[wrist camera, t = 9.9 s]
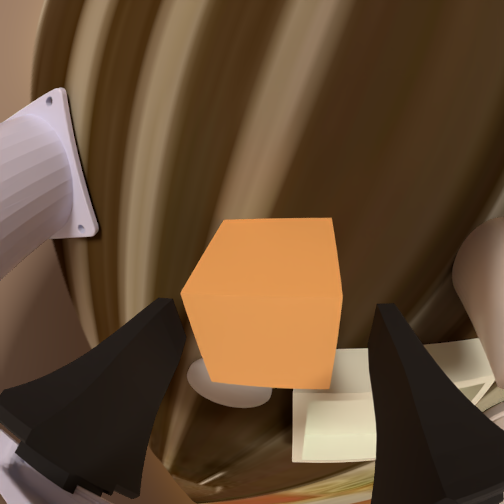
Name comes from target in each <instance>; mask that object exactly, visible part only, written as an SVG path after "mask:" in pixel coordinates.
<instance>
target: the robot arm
mask: <svg viewBox="0 0 504 504" xmlns="http://www.w3.org/2000/svg"><path fill="white" fill-rule="evenodd" d="M83 227H84V228H85V229H84V228H83ZM98 230H99V227H98V223H97V220H96V217H95V214H94V211H93V208H92V204H91V201H90V198H89V194H88V191H87V187H86V184H85V180H84V176H83V172H82V168H81V164H80V160H79V156H78V152H77V148H76V143H75V138H74V133H73V128H72V123H71V118H70V112H69V106H68V100H67V94H66V91H65V89H64V88H56V89H54V90H52V91H50V92H48V93H47V94H45V95H43V96H42V97H40V98H38V99H37V100H35V101H33V102H32V103H30V104H29V105H27V106H26V107H24V108H23V109H21V110H20V111H18V112H17V113H15V114H14V115H12V116H11V117H9V118H8V119H7V120H5V121H4V122H2V123H0V280H1V279H3V278H4V277H5V276H6V275H7V274H8V273H9V272H10V271H11V270H12V269H13V268H14V267H16V266H17V265H18V264H19V263H20V262H21V261H22V260H23V259H25V258H26V257H27V256H28V255H29V254H30V253H31V252H33V251H34V250H35V249H36V248H37V247H39V246H40V245H41V244H42V243H43V242H45V241H46V240H47V239H59V238H77V237H92V236H94V235H95V234H96V233H97V232H98ZM185 340H186V335H185V332H184V329H183V327H182V324H181V321H180V318H179V316H178V313H177V310H176V307H175V304H174V301H173V299H168V298H158V299H156V300H155V301H154V302H152V303H151V304H150V305H148V306H147V307H146V308H145V309H143V310H142V311H141V312H140V313H138V314H137V315H136V316H135V317H133V318H132V319H131V320H130V321H128V322H127V323H126V324H125V325H123V326H122V327H121V328H120V329H119V330H117V331H116V332H115V333H113V334H112V335H111V336H109V337H108V338H107V339H105V340H104V341H103V342H101V343H100V344H99V345H97V346H96V347H95V348H93V349H92V350H90V351H89V352H87V353H86V354H84V355H83V356H81V357H80V358H78V359H76V360H75V361H73V362H71V363H69V364H68V365H66V366H64V367H62V368H60V369H58V370H56V371H54V372H52V373H50V374H48V375H46V376H43V377H41V378H39V379H36V380H34V381H31V382H28V383H26V384H22V385H19V386H16V387H12V388H9V389H5V390H4V391H3V392H2V393H1V395H0V423H1V424H2V425H4V426H5V427H6V428H7V429H8V430H9V431H11V432H12V433H13V434H14V435H15V436H16V437H18V438H19V439H20V440H21V442H20V444H19V443H18V442H17V441H15V440H14V439H13V438H12V437H11V436H9V435H8V434H7V433H6V432H4V431H3V430H2V429H0V494H1V495H2V496H3V498H4V499H5V501H6V502H7V504H113V503H111V502H109V501H107V500H105V499H103V498H101V495H102V492H104V493H106V494H108V495H112V494H113V491H115V492H117V493H119V494H122V495H124V496H126V497H129V498H131V499H134V498H137V497H139V496H140V487H141V478H142V471H143V466H144V460H145V455H146V450H147V446H148V442H149V438H150V434H151V431H152V427H153V424H154V420H155V417H156V414H157V411H158V409H159V406H160V404H161V401H162V399H163V397H164V395H165V392H166V390H167V388H168V386H169V383H170V381H171V379H172V377H173V374H174V372H175V370H176V368H177V365H178V363H179V361H180V358H181V354H182V351H183V347H184V344H185ZM368 362H369V375H370V382H371V389H372V396H373V404H374V412H375V421H376V461H375V474H374V484H373V492H372V499H371V504H499V503H501V502H503V500H504V494H503V492H504V430H503V429H501V428H500V427H499V426H498V425H496V424H495V423H494V422H493V421H491V420H490V419H489V418H488V417H487V416H486V415H485V414H484V413H482V412H481V411H480V410H479V409H478V408H477V407H476V406H475V405H474V404H473V403H472V402H471V401H470V400H469V399H468V398H467V397H466V396H465V395H464V394H463V393H462V392H461V391H460V390H459V389H458V388H457V387H456V385H455V384H454V383H453V382H452V381H451V380H450V379H449V378H448V376H447V375H446V374H445V373H444V371H443V370H442V369H441V368H440V366H439V365H438V364H437V363H436V361H435V360H434V359H433V357H432V356H431V355H430V354H429V352H428V351H427V349H426V348H425V347H424V345H423V344H422V343H421V341H420V340H419V338H418V337H417V336H416V334H415V333H414V331H413V330H412V328H411V327H410V326H409V324H408V323H407V321H406V320H405V318H404V317H403V315H402V314H401V312H400V311H399V310H398V308H397V307H396V305H395V304H394V303H393V304H377V306H376V311H375V315H374V320H373V325H372V329H371V333H370V337H369V342H368Z"/></svg>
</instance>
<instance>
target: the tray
mask: <svg viewBox="0 0 504 504" xmlns="http://www.w3.org/2000/svg"><path fill="white" fill-rule="evenodd" d="M424 347H425V348H426V349H427V351H428V352H429V354H430V355H431V356H432V357H433V359H434V360H435V361H436V363H437V364H438V365H439V366H440V368H441V369H442V370H443V371H444V373H445V374H446V375H447V376H448V378H449V379H450V380H451V381H452V382H453V383H454V384H455V385H456V387H457V388H458V389H459V390H460V391H461V392H462V393H463V394H464V395H465V396H466V397H467V398H468V399H469V400H470V401H471V402H472V403H473V404H474V405H476V404H477V402H478V401H479V400H480V399H481V398H482V396H483V395H484V394H485V393H486V391H487V390H488V389H489V388H490V386H491V385H492V384H493V382H494V381H495V377H494V374H493V372H492V369H491V366H490V364H489V361H488V359H487V356H486V354H485V351H484V349H483V347H482V344H481V342H480V340H479V338H476V339H469V340H462V341H454V342H446V343H436V344H426V345H424ZM369 460H376V421H375V412H374V404H373V396H372V389H371V382H370V375H369V362H368V348H362V349H336V353H335V359H334V365H333V371H332V377H331V383H330V388H329V389H293V447H292V462H319V463H324V462H355V461H369Z"/></svg>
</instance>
